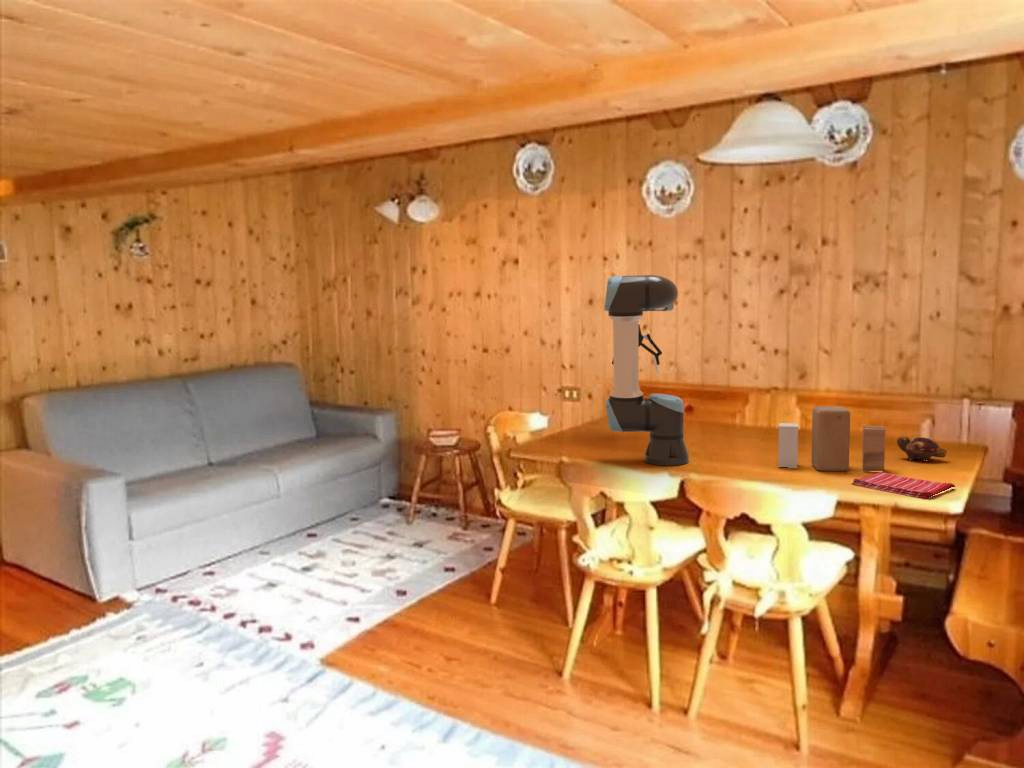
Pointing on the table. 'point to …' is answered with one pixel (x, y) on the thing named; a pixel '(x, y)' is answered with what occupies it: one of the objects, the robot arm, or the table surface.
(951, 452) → the table surface
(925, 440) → the decorative turtle
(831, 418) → the wooden block
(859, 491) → the table surface
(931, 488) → the dish towel
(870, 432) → the walnut block
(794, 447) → the grey painted block
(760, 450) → the table surface
